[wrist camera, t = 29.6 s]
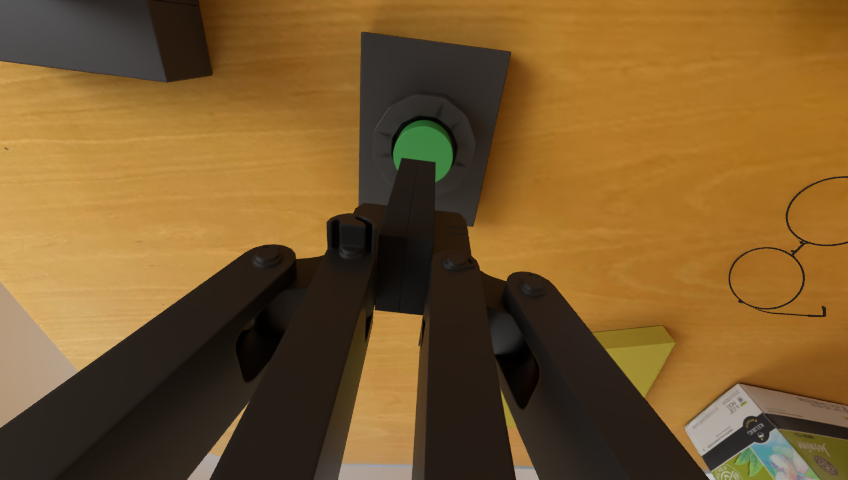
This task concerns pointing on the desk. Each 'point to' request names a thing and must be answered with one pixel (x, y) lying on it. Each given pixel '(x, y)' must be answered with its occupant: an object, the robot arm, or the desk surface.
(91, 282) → the desk surface
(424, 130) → the button
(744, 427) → the tea box
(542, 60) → the desk surface
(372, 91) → the panel
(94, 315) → the desk surface
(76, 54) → the square peg hole block
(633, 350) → the flat olive board
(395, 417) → the desk surface
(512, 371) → the robot arm
